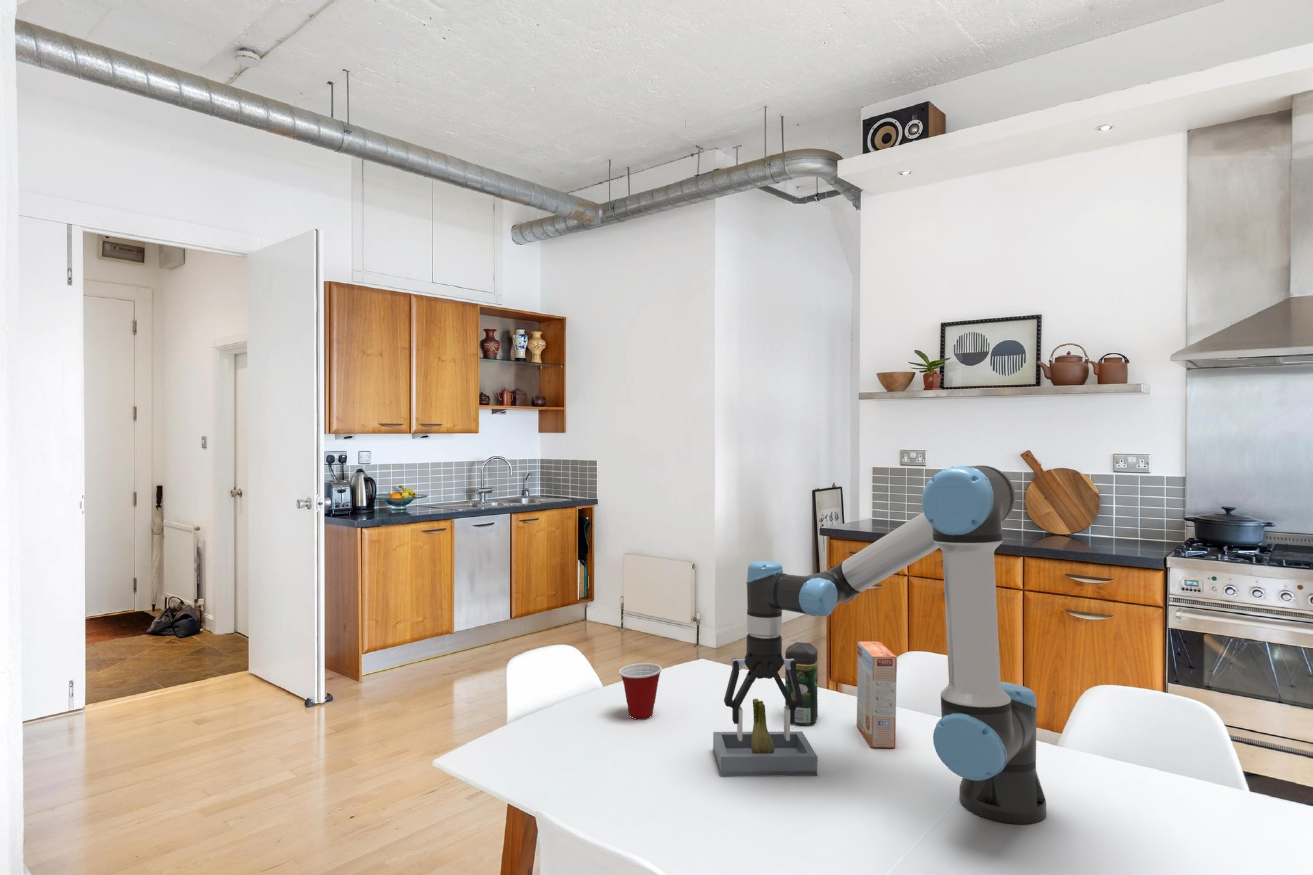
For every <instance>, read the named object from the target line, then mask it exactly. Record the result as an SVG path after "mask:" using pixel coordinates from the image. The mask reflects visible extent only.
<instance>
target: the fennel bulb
mask: <svg viewBox="0 0 1313 875" xmlns="http://www.w3.org/2000/svg"><path fill="white" fill-rule="evenodd" d="M752 709H753V726H752V731H751V732H752V740H751V749H752V754H766V753H774V744H773V741H772V739H771V736H770V734H769V732H770V731H768V726H767V717H766V716H767V715H766V705H765V704H764V701H763V700H759V699H758V698H753V699H752Z"/></svg>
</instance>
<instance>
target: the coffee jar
mask: <svg viewBox="0 0 1313 875" xmlns="http://www.w3.org/2000/svg"><path fill="white" fill-rule="evenodd" d="M784 653H785V654H784V655H785V658H784V659H790V658H793V659H794V660H795V661H796V663H797V665H796V674H797V678H798V682H799V686H800V690H801V694H802V698H803V702H804V705H803V706H799V707H796V710H795V722H794V725H797V726H798V725H799V726H805V725H806V726H807V725H814V724H815V723H816V721H817V720H818V713H819V710H818V709H819V708H818V707H819V706H818V681H819V680H818V676H819V675H818V668H819V667H818V658H819V657H818V653H819V652H818V649H817V648H816V646H815V645H813V644H812V643H810V642H800V641H799V642H798V641H797V642H796V641H795V642H794V643H792V644H791V645H789V646H787V648H786V650H785V652H784ZM784 668H785V669H784V672H785V673H784V676H785V677H784V680H785V681H784V685H785V687H786V689H787V691H788V693H789V695H790V697H791V699H792V700H794V699H795V695H794V691H793V687H792V683H791V679H790V675H789V671H788V669H787V668H786V667H785V666H784ZM784 701H785V702H784V703H785V704H784V706H788V704H787V702H786V700H785V699H784Z"/></svg>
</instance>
